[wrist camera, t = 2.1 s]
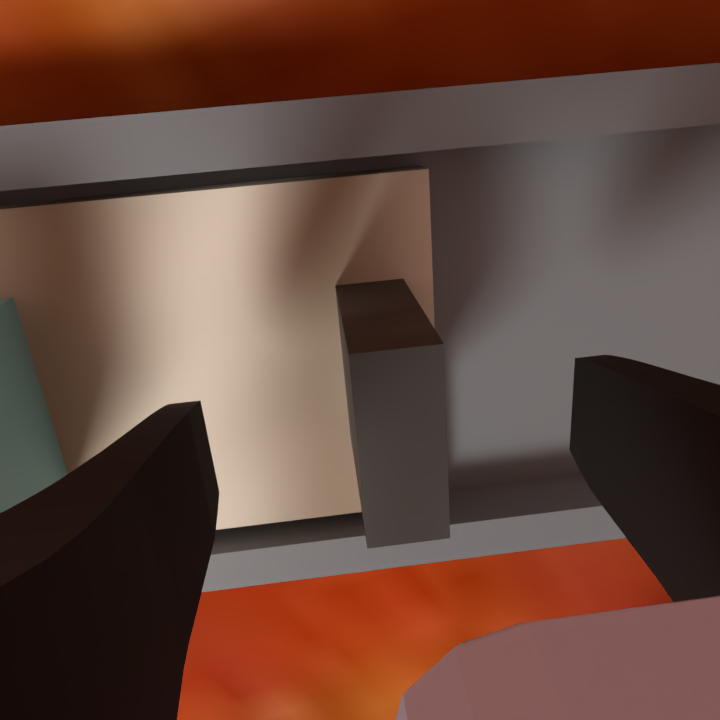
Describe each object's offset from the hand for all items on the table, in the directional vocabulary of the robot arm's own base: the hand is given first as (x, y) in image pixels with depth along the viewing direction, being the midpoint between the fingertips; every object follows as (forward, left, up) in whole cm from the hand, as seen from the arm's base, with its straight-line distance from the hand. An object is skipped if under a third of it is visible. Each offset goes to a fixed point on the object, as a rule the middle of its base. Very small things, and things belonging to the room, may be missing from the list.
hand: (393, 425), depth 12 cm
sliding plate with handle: (+7, 0, -5) cm, 8 cm away
